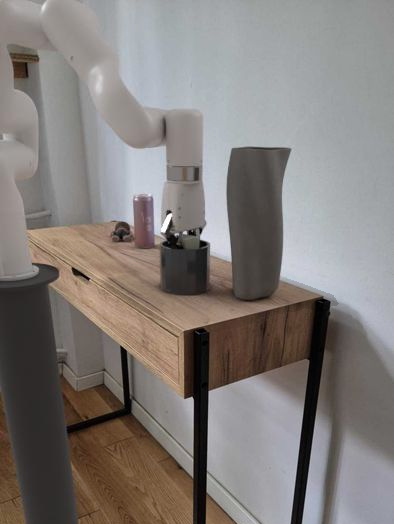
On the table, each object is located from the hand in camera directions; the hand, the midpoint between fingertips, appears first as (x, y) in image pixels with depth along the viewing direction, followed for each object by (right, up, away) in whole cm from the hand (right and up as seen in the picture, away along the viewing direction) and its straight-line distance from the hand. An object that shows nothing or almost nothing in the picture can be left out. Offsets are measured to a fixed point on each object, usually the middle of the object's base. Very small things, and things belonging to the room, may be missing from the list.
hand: (184, 259), depth 108 cm
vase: (+15, -8, -2) cm, 17 cm away
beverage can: (-13, +11, +39) cm, 42 cm away
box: (0, -5, +3) cm, 6 cm away
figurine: (-21, +16, +48) cm, 55 cm away
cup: (0, -6, +3) cm, 6 cm away
